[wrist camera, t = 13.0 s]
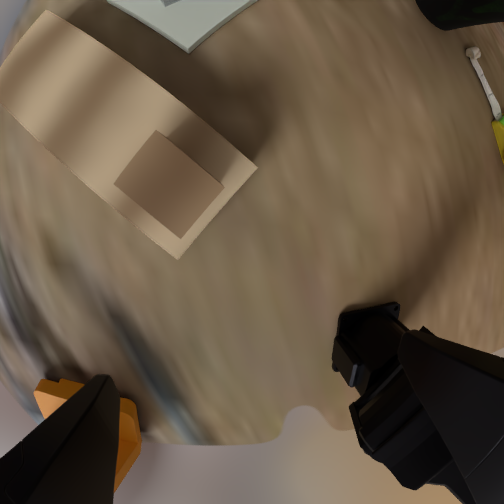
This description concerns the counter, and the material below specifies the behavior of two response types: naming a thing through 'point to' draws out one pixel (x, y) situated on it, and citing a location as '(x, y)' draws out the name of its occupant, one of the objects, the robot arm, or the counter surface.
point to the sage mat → (183, 17)
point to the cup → (461, 12)
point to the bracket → (129, 431)
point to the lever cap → (168, 2)
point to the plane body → (120, 132)
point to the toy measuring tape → (500, 125)
